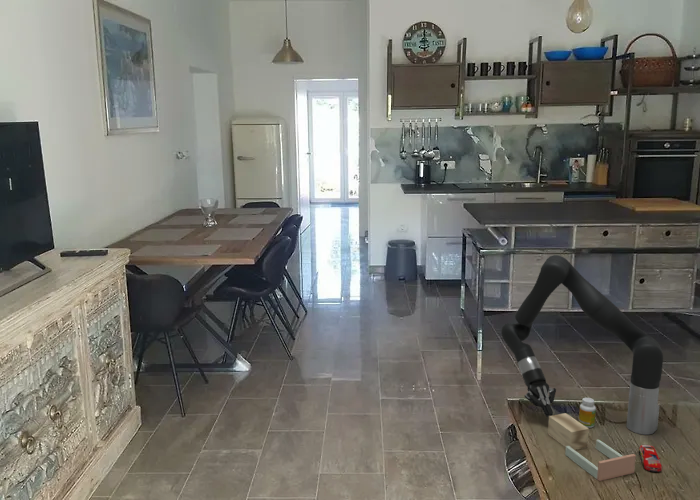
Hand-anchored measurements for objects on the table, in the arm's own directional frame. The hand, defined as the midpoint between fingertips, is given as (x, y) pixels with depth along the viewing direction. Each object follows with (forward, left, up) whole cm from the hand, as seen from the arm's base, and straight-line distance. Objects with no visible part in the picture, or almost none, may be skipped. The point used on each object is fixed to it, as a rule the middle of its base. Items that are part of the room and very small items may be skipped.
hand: (550, 416), depth 215 cm
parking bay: (0, +25, -4) cm, 25 cm away
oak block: (0, +10, -5) cm, 11 cm away
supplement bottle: (-14, +3, -5) cm, 15 cm away
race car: (-16, +30, -5) cm, 34 cm away
